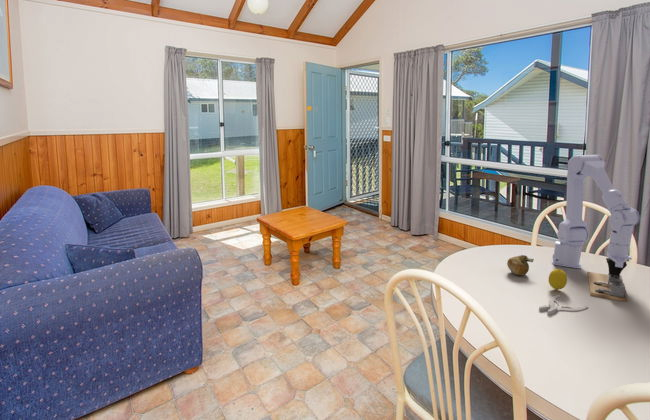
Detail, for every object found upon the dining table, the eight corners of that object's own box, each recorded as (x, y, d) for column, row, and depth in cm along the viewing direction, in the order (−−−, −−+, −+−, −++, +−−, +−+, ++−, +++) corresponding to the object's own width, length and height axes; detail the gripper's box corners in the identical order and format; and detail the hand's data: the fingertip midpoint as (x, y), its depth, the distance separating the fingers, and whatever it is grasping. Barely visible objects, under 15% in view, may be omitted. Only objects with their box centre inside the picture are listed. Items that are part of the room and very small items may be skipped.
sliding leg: (597, 285, 138) (598, 275, 138) (596, 281, 142) (597, 272, 141) (620, 289, 135) (622, 279, 134) (619, 285, 138) (621, 275, 137)
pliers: (589, 304, 125) (559, 316, 119) (588, 308, 126) (558, 320, 119) (558, 292, 134) (529, 302, 127) (558, 296, 134) (529, 306, 128)
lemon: (559, 295, 134) (562, 273, 132) (543, 288, 139) (546, 267, 137) (568, 291, 137) (572, 269, 135) (553, 285, 142) (556, 264, 140)
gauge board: (590, 295, 134) (591, 290, 134) (587, 274, 151) (587, 269, 150) (626, 301, 129) (627, 296, 129) (619, 279, 146) (620, 274, 145)
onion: (517, 268, 157) (519, 249, 155) (533, 276, 149) (536, 256, 147) (501, 271, 155) (503, 251, 153) (517, 279, 147) (519, 259, 145)
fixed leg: (598, 292, 133) (600, 283, 132) (597, 288, 136) (599, 279, 135) (623, 297, 129) (625, 287, 129) (621, 292, 133) (623, 283, 132)
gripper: (637, 251, 129) (630, 290, 132) (631, 238, 141) (624, 274, 144) (611, 248, 132) (604, 285, 136) (606, 235, 144) (600, 270, 148)
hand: (613, 279), depth 140 cm, fingers closed
